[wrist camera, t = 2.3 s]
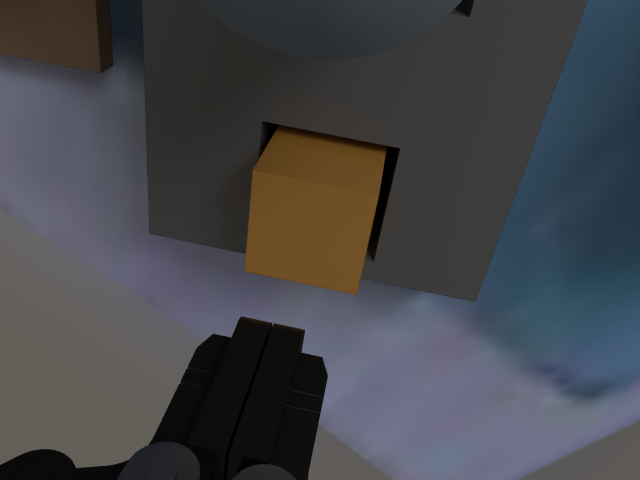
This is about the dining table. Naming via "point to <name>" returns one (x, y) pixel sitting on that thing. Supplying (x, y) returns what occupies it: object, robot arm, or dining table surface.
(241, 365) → the robot arm
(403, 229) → the block
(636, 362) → the dining table surface
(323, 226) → the orange cardboard box
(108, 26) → the walnut pad
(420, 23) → the cylinder
